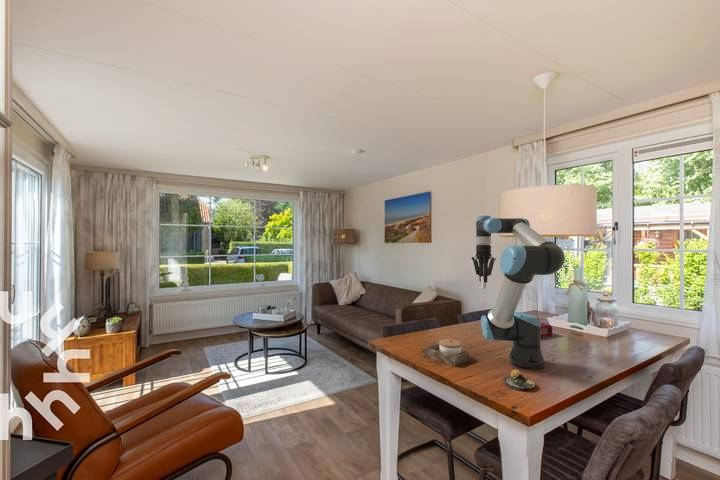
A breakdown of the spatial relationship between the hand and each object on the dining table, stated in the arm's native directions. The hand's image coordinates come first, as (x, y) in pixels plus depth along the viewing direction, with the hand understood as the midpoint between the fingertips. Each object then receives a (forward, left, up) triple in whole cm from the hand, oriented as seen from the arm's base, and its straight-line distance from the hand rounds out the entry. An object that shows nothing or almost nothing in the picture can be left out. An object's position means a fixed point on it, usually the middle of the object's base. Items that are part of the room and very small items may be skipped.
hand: (483, 288), depth 176 cm
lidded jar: (+4, +26, -33) cm, 42 cm away
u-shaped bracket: (+5, +29, -32) cm, 44 cm away
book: (+1, -50, -33) cm, 60 cm away
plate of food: (-32, +31, -33) cm, 55 cm away
